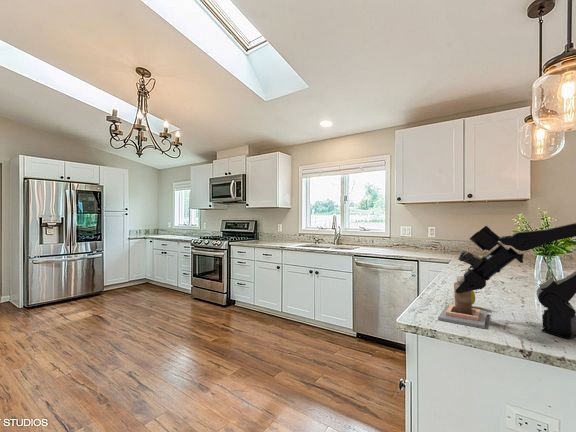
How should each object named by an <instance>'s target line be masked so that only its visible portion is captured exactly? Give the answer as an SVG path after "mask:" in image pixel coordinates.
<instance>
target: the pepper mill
mask: <svg viewBox="0 0 576 432" xmlns="http://www.w3.org/2000/svg"><path fill="white" fill-rule="evenodd" d="M463 281H464V275H463V276H462V275H461V276H460V275H459V276H456V282H454V283H453V292H454V306H455V313H461V314H467V315H472V308H473V307H472V306H473V304H472V301H471V291H467V292H463V293H459V294H457V293H456V292H455V291H456V289H457V288H458V287H459V286H460V285H461V283H462V282H463Z"/></svg>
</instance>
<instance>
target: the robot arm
mask: <svg viewBox="0 0 576 432" xmlns="http://www.w3.org/2000/svg"><path fill="white" fill-rule="evenodd" d="M575 237H576V222H572V223H567V224H564V225H560V226H555V227H551V228H545V229H536V230H535V229H534V230H525V231H522V230H521V231H516V232H514V233H513V234H512V235H507V236H506V235H503V236H499V235H498V234H496V233H495V232H494V230H492V229H491V228H490V227H489V226H488V225H485V226H484V227H482V228H481V229H480V230H479V231H477V232H475V233H474V234H472V236H471V237H470V238H468V240H470V241H471V242H472V243H473V244H474V245H476V246H477V247H478V248H479V249H480V250H482V251H485V250H486V251H488V252H489V253H488V254H487V255H483V256H482V257H480V256H478V255H476V254H474V253H471V252H470V251H466V250H462V252H461V253H460V254H459V257H458V261H460V262H464V263H466V264H468V265H470V266H469V267H468V268H467V271H465V272H464V273H463V276H464V281H463V282H462V283H461V285H460V286H459V287H458V288H457V289H456V291H455V292H456V293H457V294H459V293H463V292H467V291H472V290H473V291H476V290H483V289H484V288H485V287H486V286H487V282H488V281H489V280H490V279H491V278H492V277H493V276H495V275H496V274H499V273H500V272H501V270H503V269H505V268H506V267H507V266H508V265H510V264H511V263H512V262H513V261H515V260H517V261H518V262H519V263H521V264H523V263H524V256H525V255H524V253H518V251H519V252H527V251H530V250H532V249H535V248H538V247H541V246H543V245H546V244H549V243H551V242H555V241H559V240H565V239H571V238H575ZM497 245H498V246H497ZM505 245H506V246H509V247H508V248H507V247H506V246H505ZM495 247H496V248H495ZM513 248H514V249H513ZM491 250H492V251H491ZM516 250H518V251H516ZM538 286H539V287H538V288H537V289H536V296H537V299H538V302H539V304H540V305H541V306H542V307H544V308H546V309H544V310H543V313H542V316H541V317H542V328H541V332H544V333H546V334H550V335H554V336H557V337H560V338H563V339H566V340H571V339H573V338H576V309H575V308H574V307H573V305H572V303H570V301H571V300H572V298H573V297H574V296H575V295H576V271H574V272H572V273H571V274H569V275H567V276H566V277H564V278H561V279H558V280H555V279H554V278H553V277H549V278H548V279H547V280H546V281H545V282H543V283H540V284H538Z"/></svg>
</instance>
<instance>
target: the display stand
mask: <svg viewBox="0 0 576 432" xmlns="http://www.w3.org/2000/svg"><path fill="white" fill-rule="evenodd" d="M487 319H488V311H487V310H483V309H479V308H473V307H472V315H467V314H461V313H455V304H449V305H448V304H446V305H445V306H444V308H443V310H441V312H440V313H439V315H438V317H437V321H440V320H441V321H440V322H446V323H452V324H457V325H462V326H463V325H464V326H467V327H474V328H479V329H485V328H486V324H487V323H486V322H487Z"/></svg>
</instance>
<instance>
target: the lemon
mask: <svg viewBox="0 0 576 432" xmlns="http://www.w3.org/2000/svg"><path fill="white" fill-rule="evenodd" d="M471 301H472V305H474V304H475V302H476V295H475V292H474V290H472V291H471Z"/></svg>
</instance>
